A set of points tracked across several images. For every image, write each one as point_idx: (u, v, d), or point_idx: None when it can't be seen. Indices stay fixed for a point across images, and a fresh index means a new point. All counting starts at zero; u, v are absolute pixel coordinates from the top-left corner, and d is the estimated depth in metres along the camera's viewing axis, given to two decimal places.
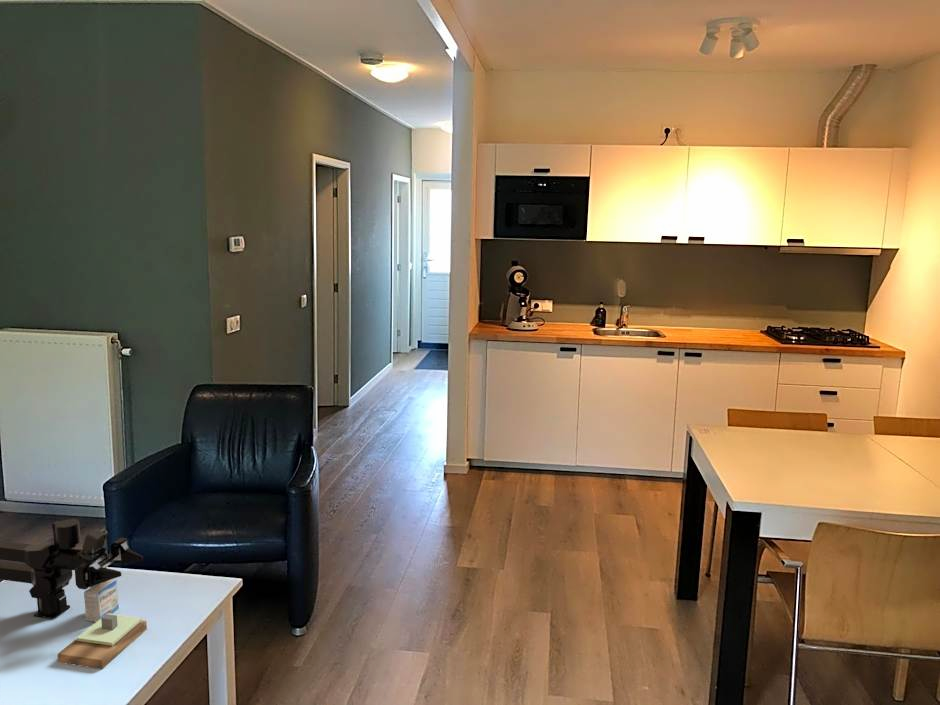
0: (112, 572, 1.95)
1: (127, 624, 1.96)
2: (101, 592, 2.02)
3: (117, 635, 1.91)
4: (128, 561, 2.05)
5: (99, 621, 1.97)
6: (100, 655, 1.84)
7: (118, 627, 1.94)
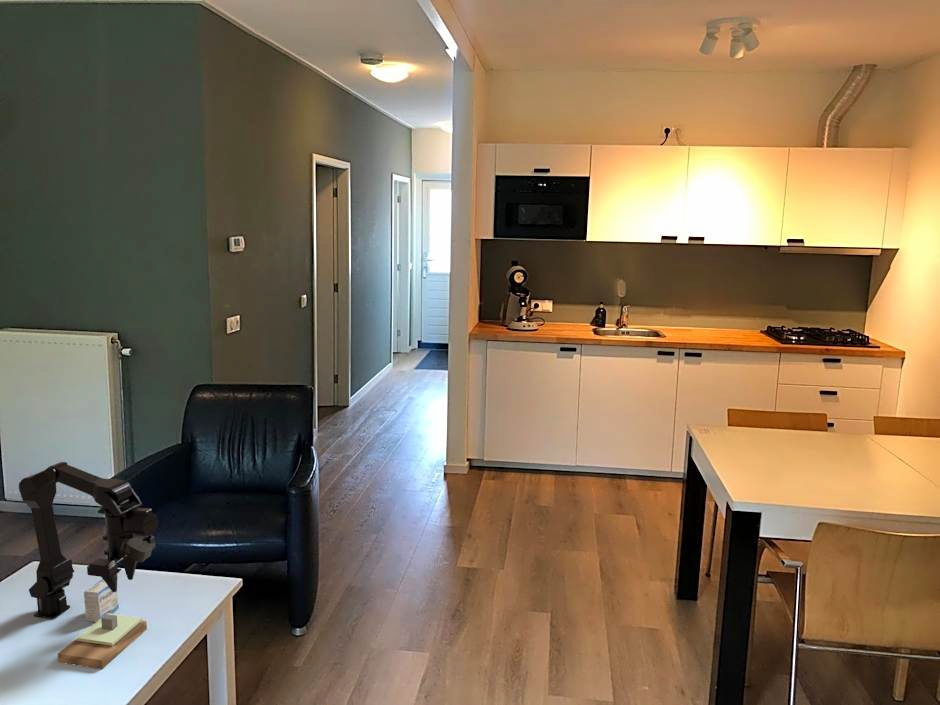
0: (114, 586, 1.94)
1: (127, 624, 1.96)
2: (101, 592, 2.02)
3: (117, 635, 1.91)
4: (124, 563, 2.01)
5: (99, 621, 1.97)
6: (100, 655, 1.84)
7: (118, 627, 1.94)
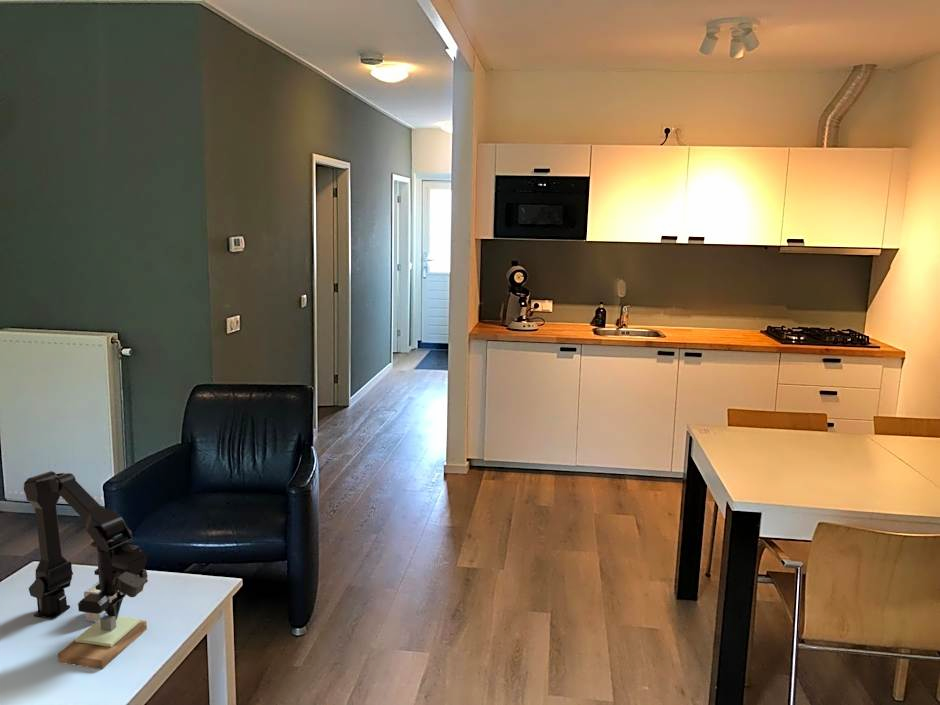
0: (113, 615, 1.94)
1: (126, 625, 1.95)
2: None
3: (116, 636, 1.90)
4: None
5: (98, 622, 1.96)
6: (100, 655, 1.84)
7: (117, 628, 1.94)
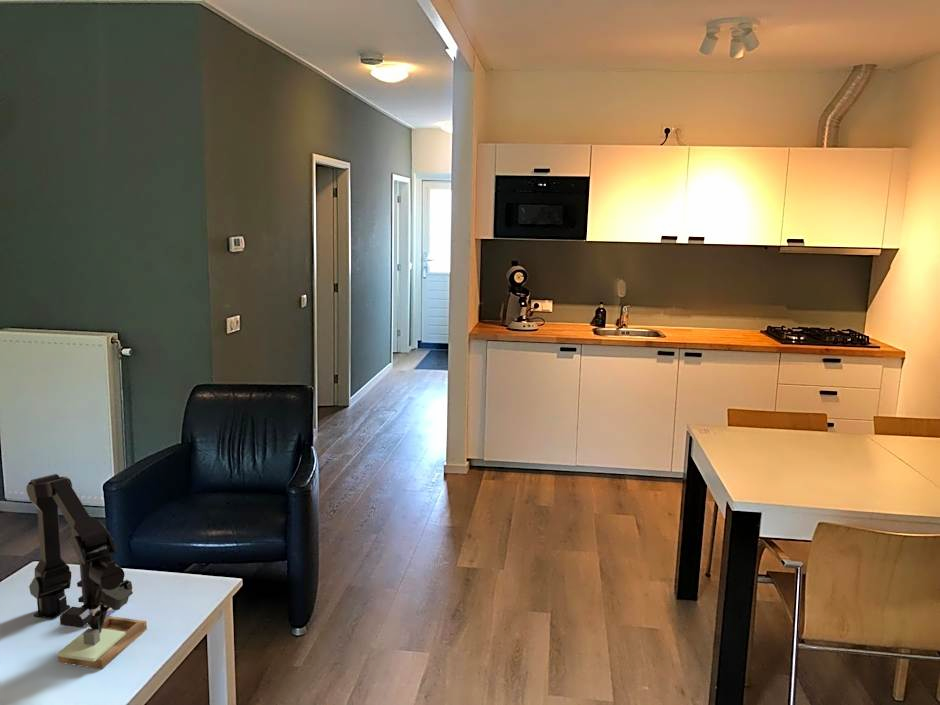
0: (97, 628, 1.88)
1: (110, 638, 1.89)
2: None
3: (99, 650, 1.84)
4: None
5: (81, 635, 1.90)
6: None
7: (101, 642, 1.88)
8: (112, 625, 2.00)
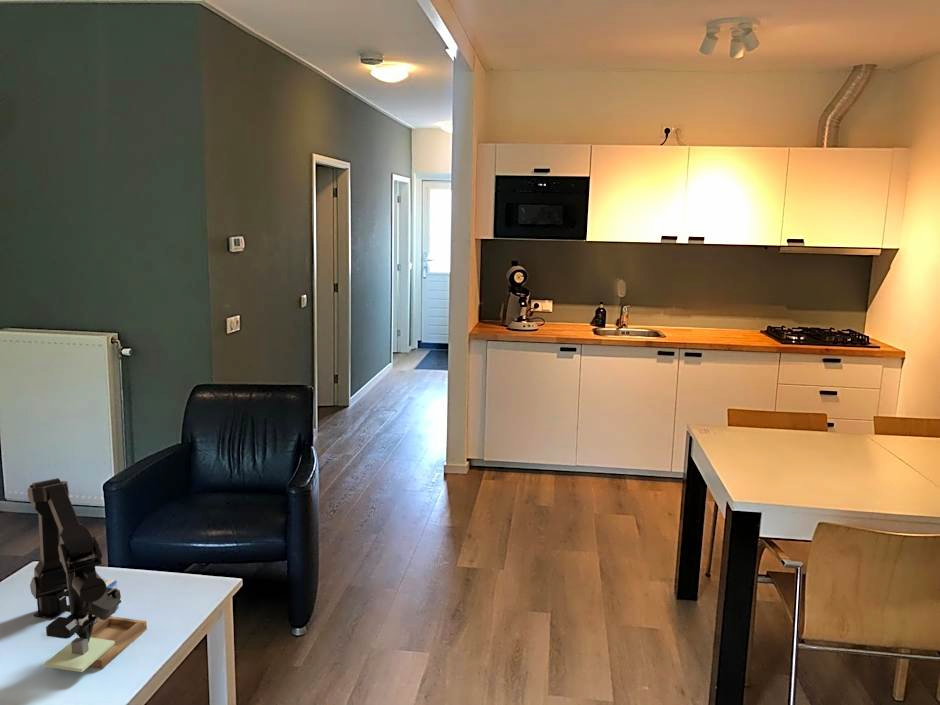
0: (85, 638, 1.84)
1: (99, 648, 1.85)
2: None
3: (88, 660, 1.80)
4: None
5: (69, 645, 1.86)
6: None
7: (89, 651, 1.84)
8: (112, 625, 2.00)
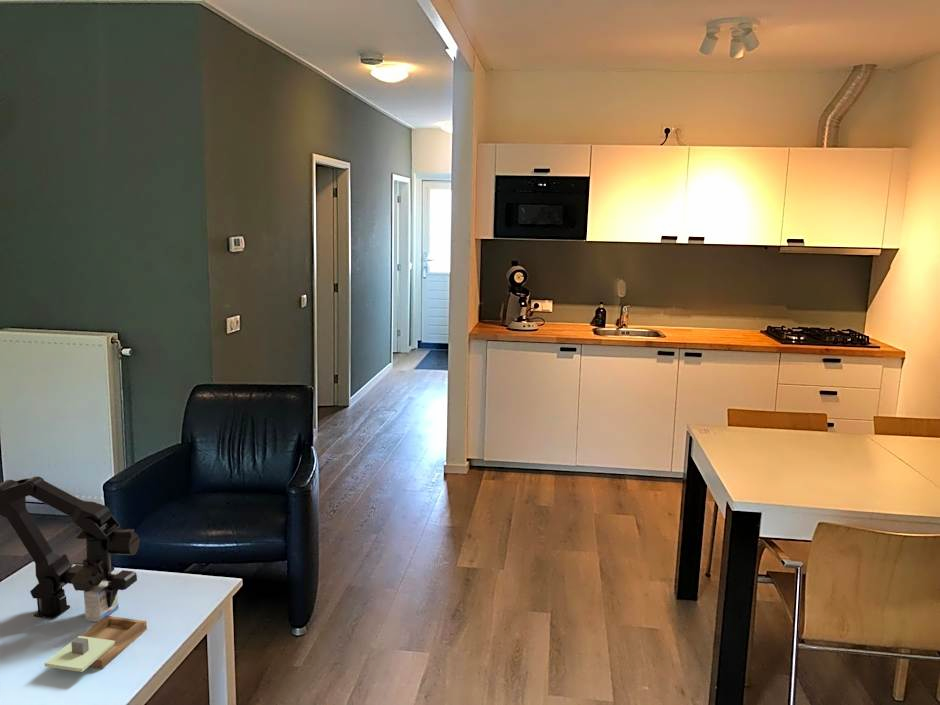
0: None
1: (99, 648, 1.85)
2: (101, 592, 2.02)
3: (88, 660, 1.80)
4: None
5: (70, 644, 1.86)
6: None
7: (89, 651, 1.84)
8: (112, 625, 2.00)
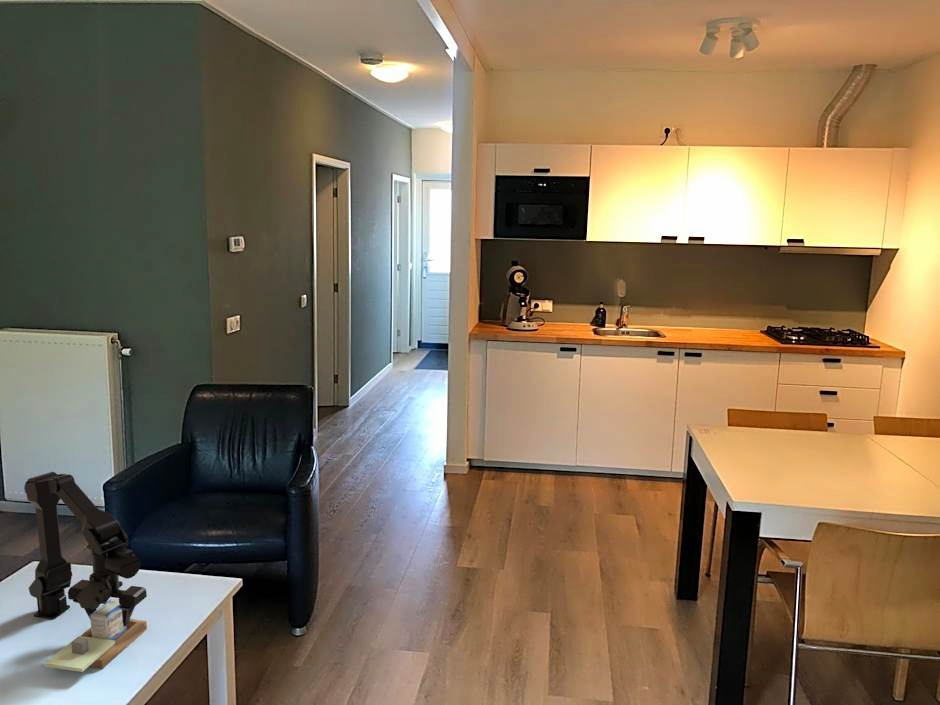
0: None
1: (99, 648, 1.85)
2: (109, 615, 1.90)
3: (88, 660, 1.80)
4: None
5: (70, 644, 1.86)
6: None
7: (89, 651, 1.84)
8: None
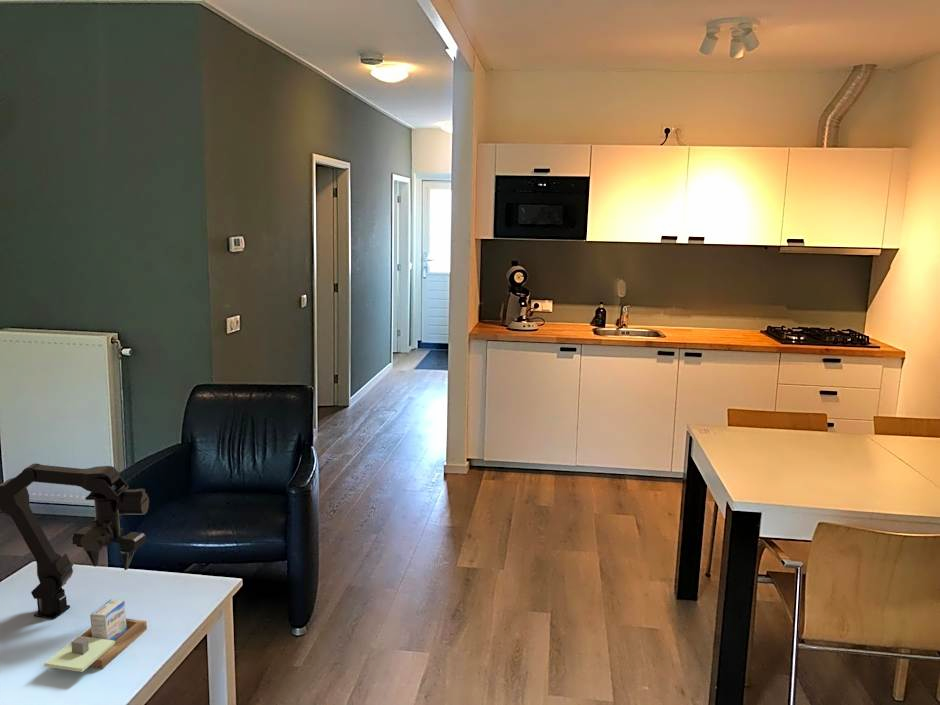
0: None
1: (99, 648, 1.85)
2: (109, 615, 1.90)
3: (88, 660, 1.80)
4: None
5: (70, 644, 1.86)
6: None
7: (89, 651, 1.84)
8: None
